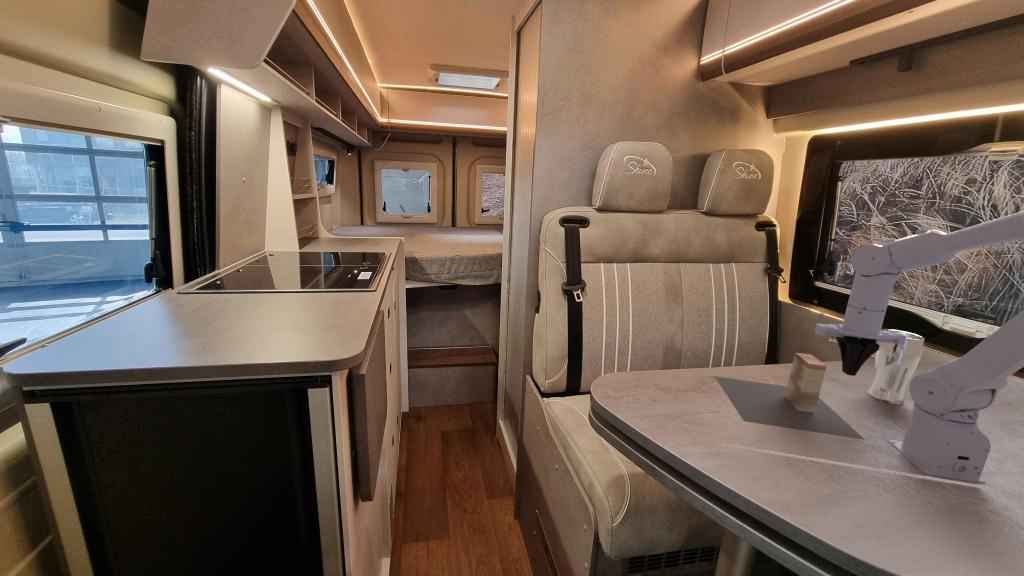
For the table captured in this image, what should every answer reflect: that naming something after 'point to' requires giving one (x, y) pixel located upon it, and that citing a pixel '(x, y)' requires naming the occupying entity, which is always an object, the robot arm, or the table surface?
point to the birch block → (805, 382)
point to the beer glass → (895, 367)
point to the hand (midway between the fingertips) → (848, 373)
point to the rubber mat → (781, 408)
